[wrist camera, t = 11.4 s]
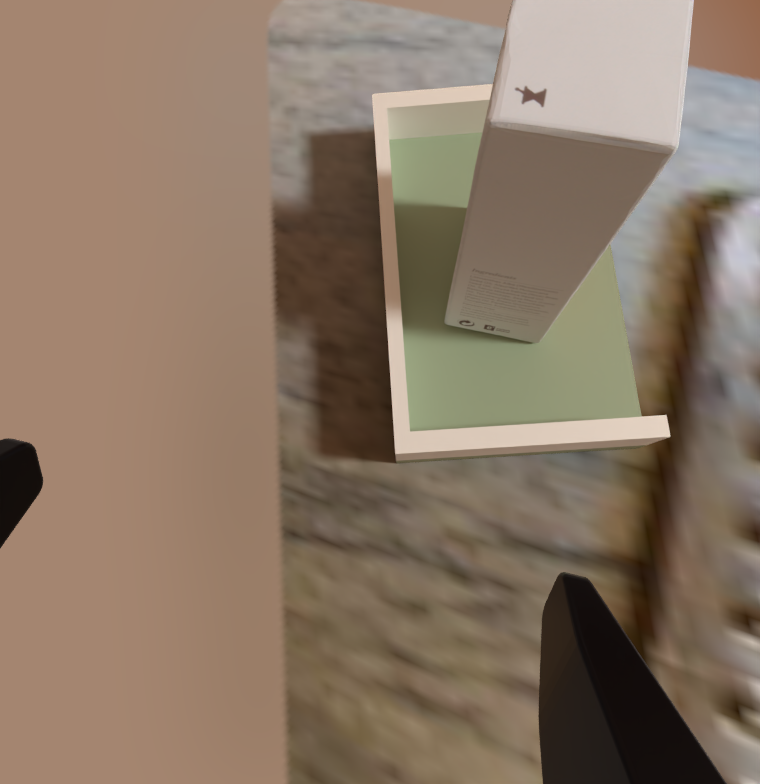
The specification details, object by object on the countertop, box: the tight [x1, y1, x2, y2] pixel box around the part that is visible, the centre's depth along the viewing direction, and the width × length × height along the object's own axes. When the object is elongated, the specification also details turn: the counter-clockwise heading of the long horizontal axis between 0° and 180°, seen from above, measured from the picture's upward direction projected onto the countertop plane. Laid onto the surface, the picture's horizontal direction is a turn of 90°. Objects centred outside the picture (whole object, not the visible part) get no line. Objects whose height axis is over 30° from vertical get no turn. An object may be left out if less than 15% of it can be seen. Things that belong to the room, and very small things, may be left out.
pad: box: [372, 84, 670, 463], centre depth 23 cm, size 16×10×3 cm, turn 3°
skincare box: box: [444, 0, 694, 343], centre depth 18 cm, size 6×4×12 cm
